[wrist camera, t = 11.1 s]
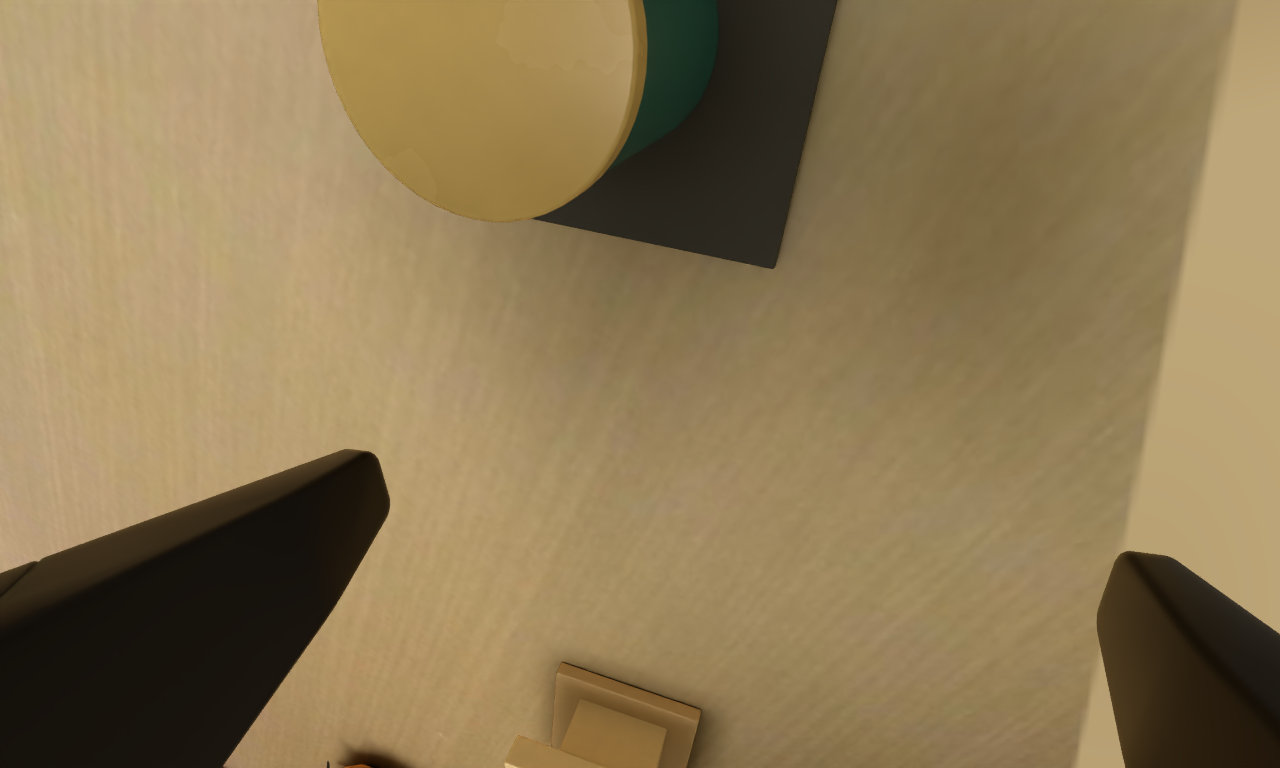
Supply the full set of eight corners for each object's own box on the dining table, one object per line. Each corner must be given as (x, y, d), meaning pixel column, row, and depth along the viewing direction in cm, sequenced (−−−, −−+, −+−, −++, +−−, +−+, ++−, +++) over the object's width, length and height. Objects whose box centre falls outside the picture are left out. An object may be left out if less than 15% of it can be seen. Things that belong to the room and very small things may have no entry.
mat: (775, 264, 18) (773, 270, 18) (447, 195, 20) (438, 199, 19) (889, -221, 13) (890, -229, 12) (430, -251, 15) (417, -259, 14)
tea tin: (702, 169, 17) (618, 251, 11) (509, 133, 18) (337, 191, 12) (744, -89, 14) (660, -162, 8) (512, -114, 15) (289, -196, 9)
